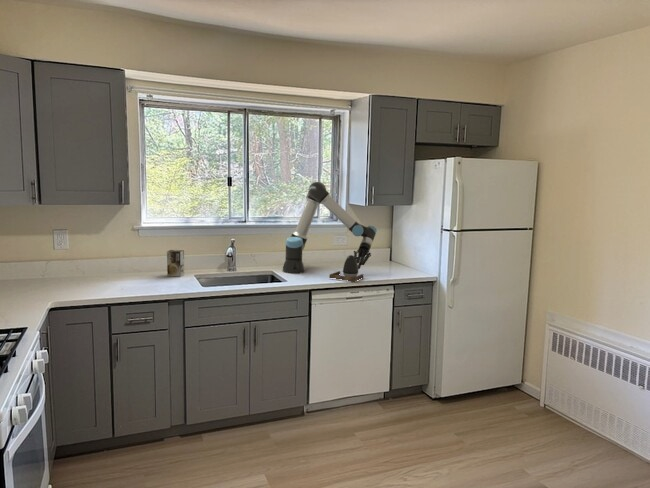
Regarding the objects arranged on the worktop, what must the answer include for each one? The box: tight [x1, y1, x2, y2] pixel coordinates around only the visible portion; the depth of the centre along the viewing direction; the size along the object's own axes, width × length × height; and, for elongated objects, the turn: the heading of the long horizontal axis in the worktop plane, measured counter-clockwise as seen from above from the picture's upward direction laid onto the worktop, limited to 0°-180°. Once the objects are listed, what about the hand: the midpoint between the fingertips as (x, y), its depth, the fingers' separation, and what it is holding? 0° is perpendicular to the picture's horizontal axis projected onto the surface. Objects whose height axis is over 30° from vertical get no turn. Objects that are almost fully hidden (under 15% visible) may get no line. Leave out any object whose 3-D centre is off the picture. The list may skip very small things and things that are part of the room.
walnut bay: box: [328, 271, 364, 283], centre depth 316 cm, size 18×14×3 cm
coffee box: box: [166, 249, 185, 277], centre depth 307 cm, size 9×6×16 cm
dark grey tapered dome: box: [342, 254, 359, 277], centre depth 320 cm, size 10×10×15 cm
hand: (355, 272), depth 326 cm, fingers closed
